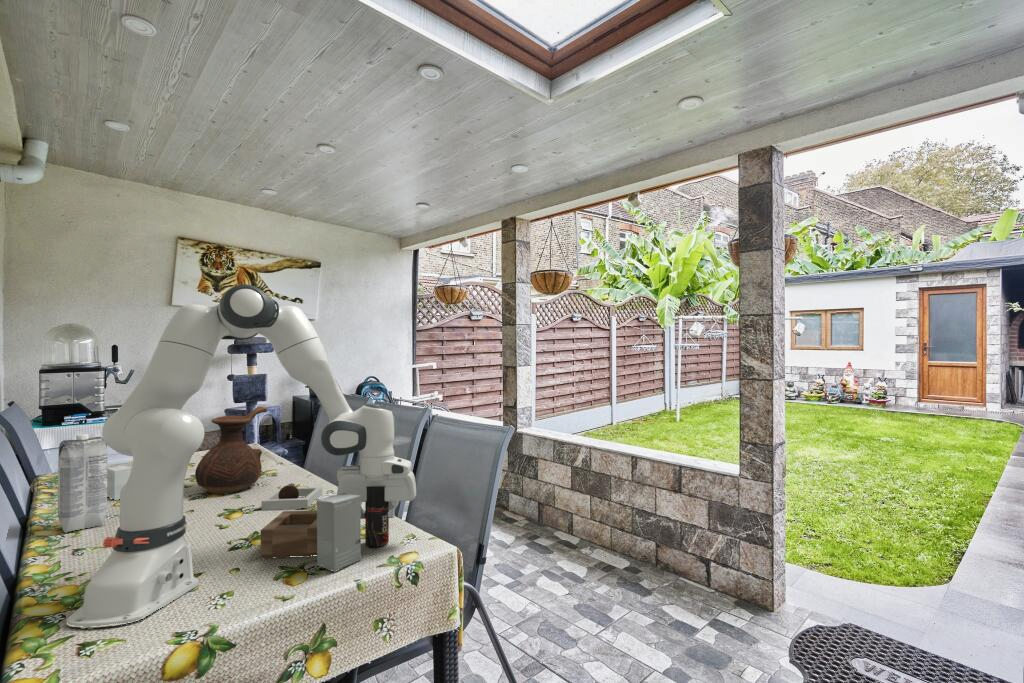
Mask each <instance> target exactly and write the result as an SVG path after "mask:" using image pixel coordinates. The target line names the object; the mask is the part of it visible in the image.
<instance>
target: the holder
mask: <svg viewBox="0 0 1024 683" xmlns="http://www.w3.org/2000/svg"><path fill="white" fill-rule="evenodd" d="M311 555H312V556H313V555H317V509H316V510H315V509H314V510H313V509H312V510H309V509H306V510H285V511H284V510H283V511H282V512H281V513H279V514H278V515H277V516H276V517H275V518H273V520H271V521H270V522H268V523H267V524H266V525H265V526H263V528H262V529H260V559H261V558H269V559H274V558H273V557H290V556H311Z"/></svg>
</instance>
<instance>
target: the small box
mask: <svg viewBox="0 0 1024 683" xmlns="http://www.w3.org/2000/svg"><path fill="white" fill-rule="evenodd" d="M131 469H132V466H128V465H124V464H123V465H118V466H112V467H107V497H109V498H112V499H114V500H116V499H120V491H121V489H122V487H123V486H124V485H125V484H126V483H127V481H128V479H129V476H130V473H131ZM109 498H108V499H109ZM114 500H113V501H114ZM116 501H117V500H116Z"/></svg>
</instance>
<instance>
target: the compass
mask: <svg viewBox="0 0 1024 683" xmlns="http://www.w3.org/2000/svg"><path fill="white" fill-rule="evenodd" d="M281 488H282V489H281V490H280V491H279V495H278V497H279V499H297V498H299V497H298V496H299V491H298V489H297V488H298V487H297V486H295V485H293V484H290V483H289V484H287V485H284V486H283V487H281Z"/></svg>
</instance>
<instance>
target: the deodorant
mask: <svg viewBox="0 0 1024 683" xmlns="http://www.w3.org/2000/svg"><path fill="white" fill-rule="evenodd" d="M385 487H386V486H372V487H367V501H366V502H364V504H365V505H364V506H365V508H364V510H365V519H364V520H365V525H364V527H365V529H364V531H365V539H364V540H365V541H364V544H365V545H366V546H367V547H381V546H384V545H386V544H387V543H389V542H390V540H389V536H390V530H389V527H390V525H389V524H390V523H389V522H390V520H389V519H390V518H388V511H389V510H390V508H389V507H390V505H389V504H390V501H385Z"/></svg>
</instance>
